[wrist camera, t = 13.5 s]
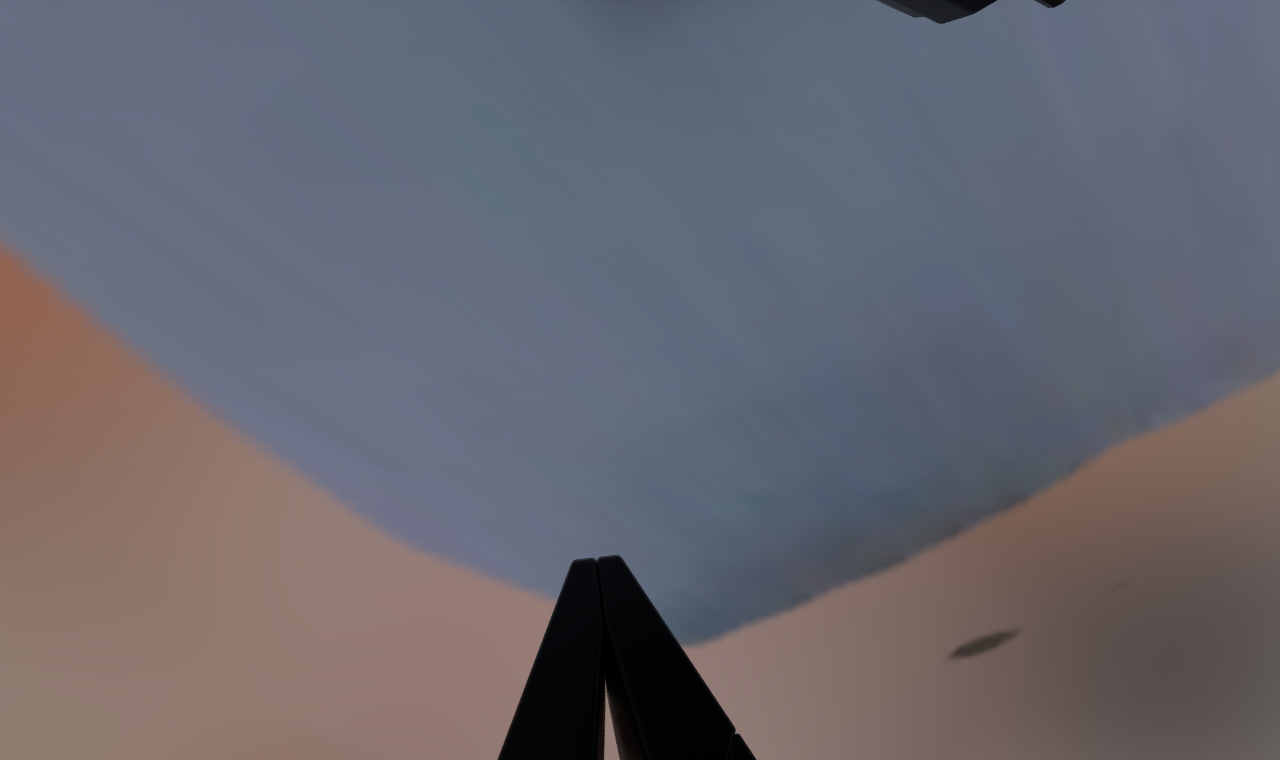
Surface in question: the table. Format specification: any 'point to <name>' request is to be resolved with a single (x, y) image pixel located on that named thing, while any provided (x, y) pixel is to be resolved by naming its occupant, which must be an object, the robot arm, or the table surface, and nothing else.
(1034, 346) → the table surface
